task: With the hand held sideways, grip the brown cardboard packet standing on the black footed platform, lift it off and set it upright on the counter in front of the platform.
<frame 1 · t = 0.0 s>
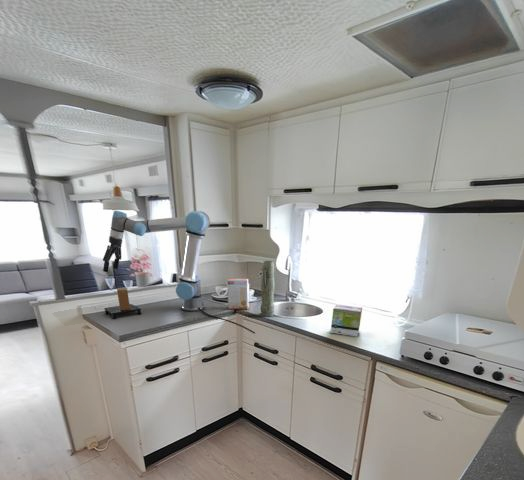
hand: (110, 270, 209), 28 cm above the countertop, tool tilted 20°, fingers open, 13 cm apart
tea box: (344, 332, 186), on the countertop
thermos: (267, 315, 218), on the countertop
cracker box: (238, 308, 232), on the countertop
black footed platform: (123, 314, 215), on the countertop
packet: (125, 308, 213), point 4 cm above the countertop, touching black footed platform
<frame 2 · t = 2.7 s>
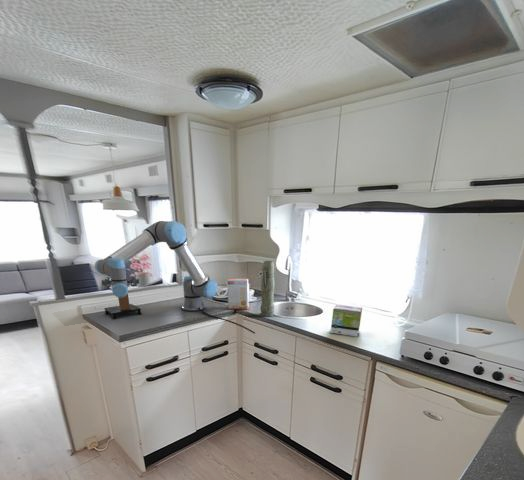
hand: (120, 279, 197), 24 cm above the countertop, tool horizontal, fingers open, 13 cm apart
nothing on the countertop moved.
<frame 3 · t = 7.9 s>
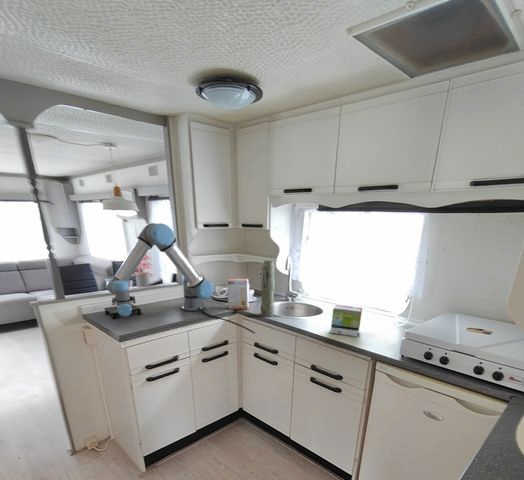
hand: (123, 296, 214), 11 cm above the countertop, tool horizontal, fingers closed on packet, 6 cm apart
packet: (125, 308, 213), point 4 cm above the countertop, touching gripper, black footed platform
everything else where it was.
when the fingers open (7 cm above the countertop, at t = 17.5 s): packet stays where it is, on the countertop.
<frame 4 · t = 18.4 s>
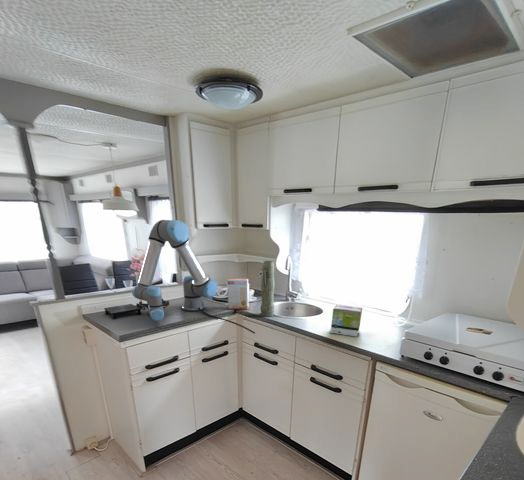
hand: (151, 301, 217), 7 cm above the countertop, tool horizontal, fingers open, 13 cm apart
packet: (153, 313, 217), on the countertop
everything else where it was.
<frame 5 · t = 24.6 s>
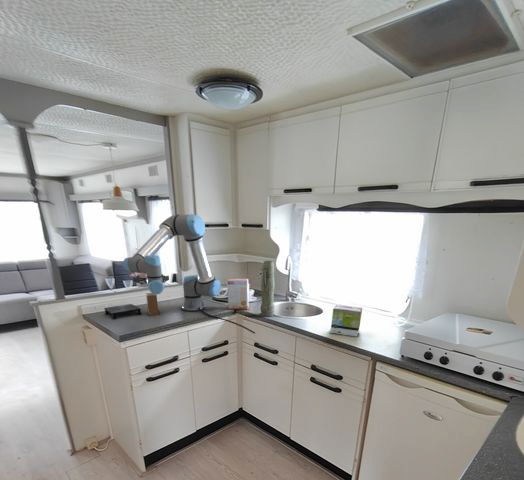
hand: (150, 276, 199), 26 cm above the countertop, tool horizontal, fingers open, 13 cm apart
nothing on the countertop moved.
at the end: packet inside the target area (0.1 cm from its centre), on the countertop; packet tilted 0°; the gripper is holding nothing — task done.
